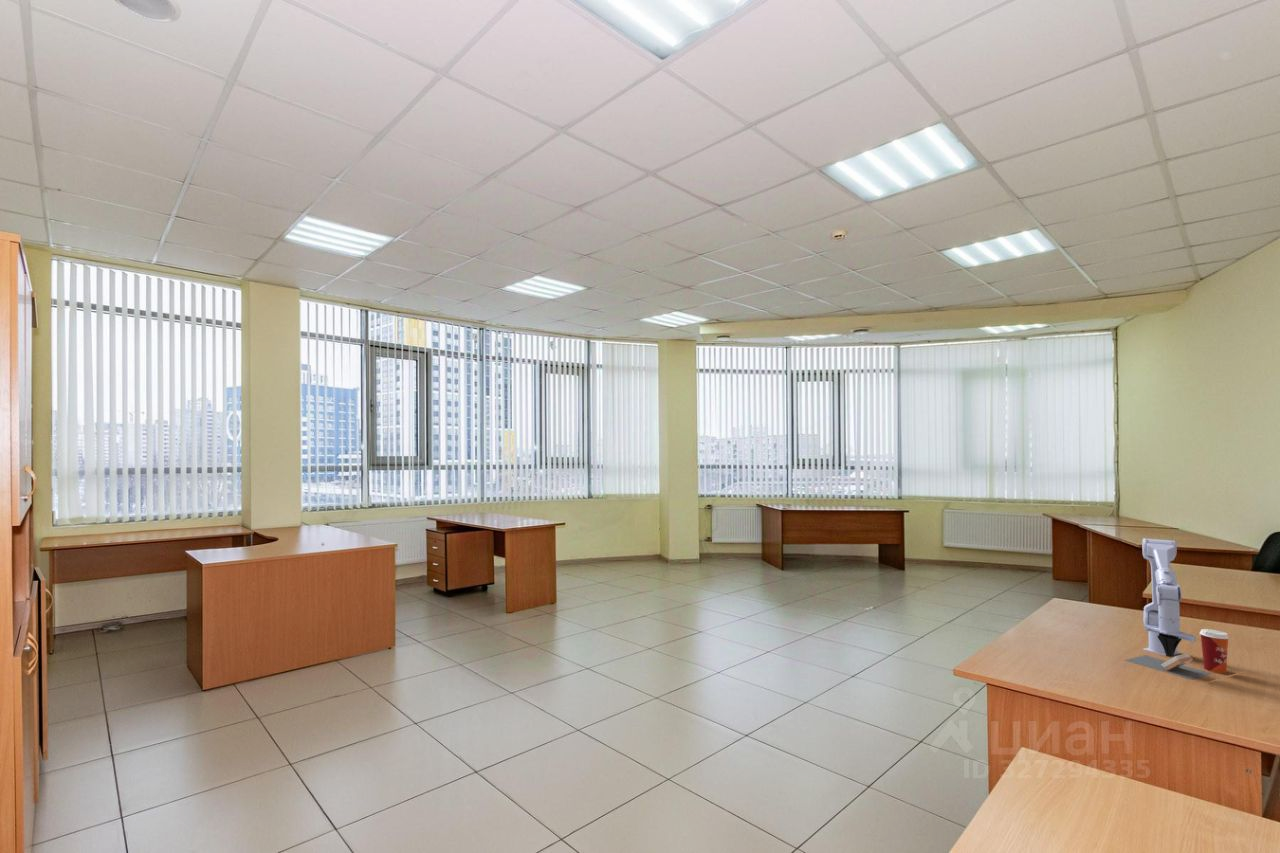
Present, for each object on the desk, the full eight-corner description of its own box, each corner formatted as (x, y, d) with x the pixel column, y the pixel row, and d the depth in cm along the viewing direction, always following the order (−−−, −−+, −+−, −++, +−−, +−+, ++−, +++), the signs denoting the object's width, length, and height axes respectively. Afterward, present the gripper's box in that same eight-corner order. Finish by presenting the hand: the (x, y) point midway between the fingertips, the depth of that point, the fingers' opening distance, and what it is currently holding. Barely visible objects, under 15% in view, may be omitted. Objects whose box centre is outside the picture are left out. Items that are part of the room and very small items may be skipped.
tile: (1172, 661, 215) (1187, 653, 211) (1178, 667, 213) (1193, 659, 210) (1160, 664, 212) (1175, 656, 208) (1166, 670, 210) (1181, 662, 206)
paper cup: (1224, 676, 206) (1223, 636, 207) (1196, 669, 213) (1195, 630, 213) (1234, 673, 210) (1233, 633, 210) (1205, 665, 217) (1205, 627, 217)
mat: (1145, 656, 226) (1145, 655, 226) (1212, 674, 208) (1212, 673, 208) (1124, 661, 221) (1124, 660, 221) (1191, 680, 202) (1191, 679, 202)
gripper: (1139, 614, 218) (1139, 651, 218) (1188, 625, 205) (1189, 664, 205) (1149, 612, 221) (1150, 648, 221) (1199, 622, 208) (1199, 661, 207)
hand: (1169, 656), depth 213 cm, fingers closed
